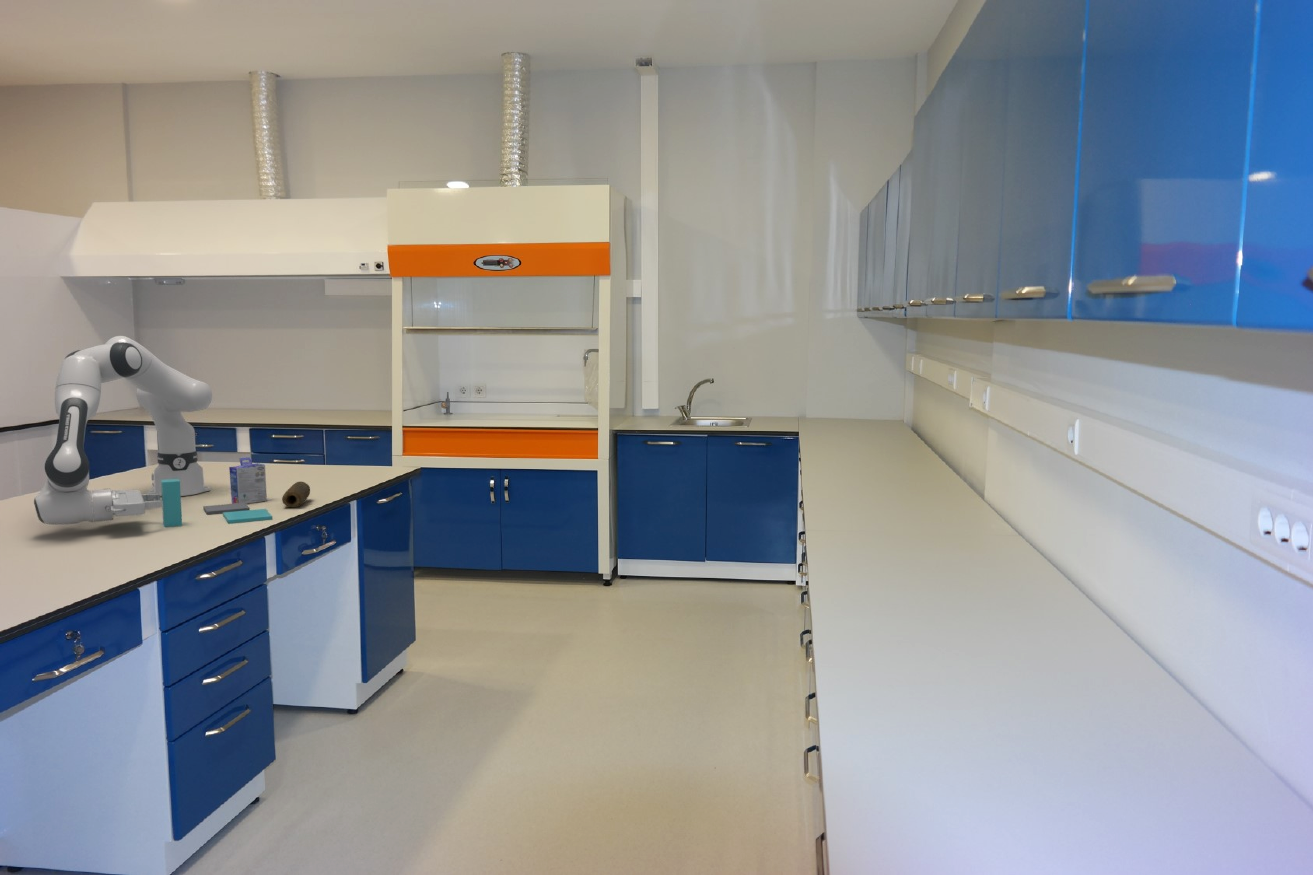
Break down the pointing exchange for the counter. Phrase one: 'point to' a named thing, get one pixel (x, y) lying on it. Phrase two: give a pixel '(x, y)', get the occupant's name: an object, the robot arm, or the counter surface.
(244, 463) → the ink cartridge box
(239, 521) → the teal pad
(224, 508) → the charcoal pad
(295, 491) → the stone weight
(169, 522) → the teal column
